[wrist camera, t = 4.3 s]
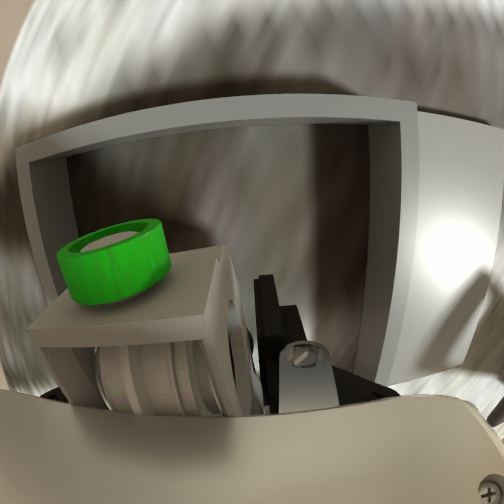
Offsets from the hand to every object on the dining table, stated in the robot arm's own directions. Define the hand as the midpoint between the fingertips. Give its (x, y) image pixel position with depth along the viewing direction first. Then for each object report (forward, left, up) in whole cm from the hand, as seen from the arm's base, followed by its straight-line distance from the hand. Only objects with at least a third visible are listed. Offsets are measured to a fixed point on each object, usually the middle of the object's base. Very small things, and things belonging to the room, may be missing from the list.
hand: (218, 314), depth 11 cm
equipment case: (-4, 0, -3) cm, 5 cm away
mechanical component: (0, 0, -3) cm, 3 cm away
